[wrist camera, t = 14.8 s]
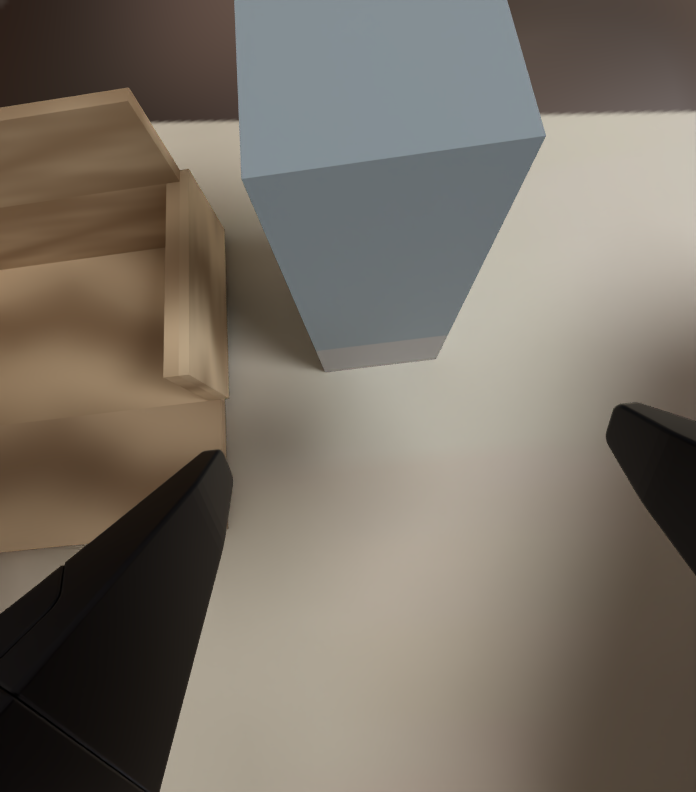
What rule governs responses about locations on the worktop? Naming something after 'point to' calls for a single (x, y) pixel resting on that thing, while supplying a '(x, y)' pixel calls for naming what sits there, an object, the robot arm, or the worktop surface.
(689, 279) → the worktop surface
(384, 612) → the worktop surface
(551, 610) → the worktop surface
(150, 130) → the kraft carton
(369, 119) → the slate block
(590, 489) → the worktop surface
